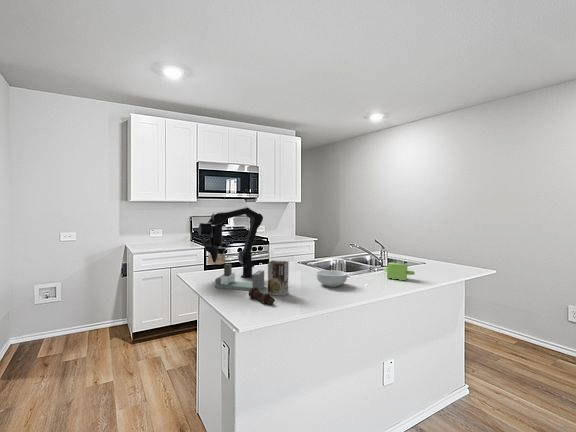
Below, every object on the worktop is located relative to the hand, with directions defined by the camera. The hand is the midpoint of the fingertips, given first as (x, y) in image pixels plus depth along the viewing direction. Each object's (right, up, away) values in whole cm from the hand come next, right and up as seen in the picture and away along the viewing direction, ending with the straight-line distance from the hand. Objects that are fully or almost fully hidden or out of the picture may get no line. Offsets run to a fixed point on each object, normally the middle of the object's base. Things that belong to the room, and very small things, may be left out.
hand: (216, 261), depth 188 cm
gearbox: (+109, -13, +11) cm, 111 cm away
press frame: (+15, -12, -14) cm, 24 cm away
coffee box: (+36, -13, -25) cm, 46 cm away
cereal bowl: (+66, -13, -7) cm, 67 cm away
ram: (+9, -10, -12) cm, 18 cm away
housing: (0, -1, 0) cm, 1 cm away
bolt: (+29, -14, -38) cm, 50 cm away
